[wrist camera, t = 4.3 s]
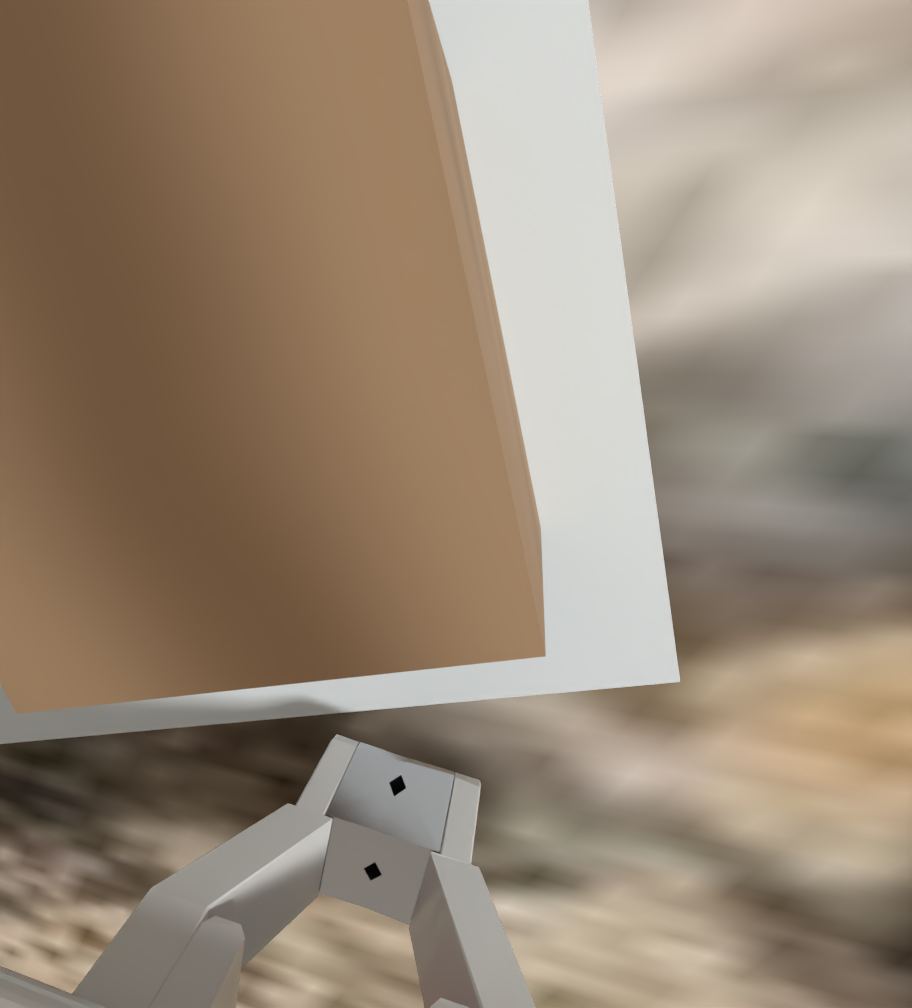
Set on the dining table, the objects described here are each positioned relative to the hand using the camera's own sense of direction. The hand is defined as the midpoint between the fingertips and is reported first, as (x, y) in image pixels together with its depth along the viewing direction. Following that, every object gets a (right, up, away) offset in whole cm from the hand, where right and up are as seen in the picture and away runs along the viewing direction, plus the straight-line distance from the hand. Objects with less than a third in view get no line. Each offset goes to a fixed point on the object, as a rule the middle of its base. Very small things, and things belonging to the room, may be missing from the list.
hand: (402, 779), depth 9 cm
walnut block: (-2, +8, -1) cm, 8 cm away
